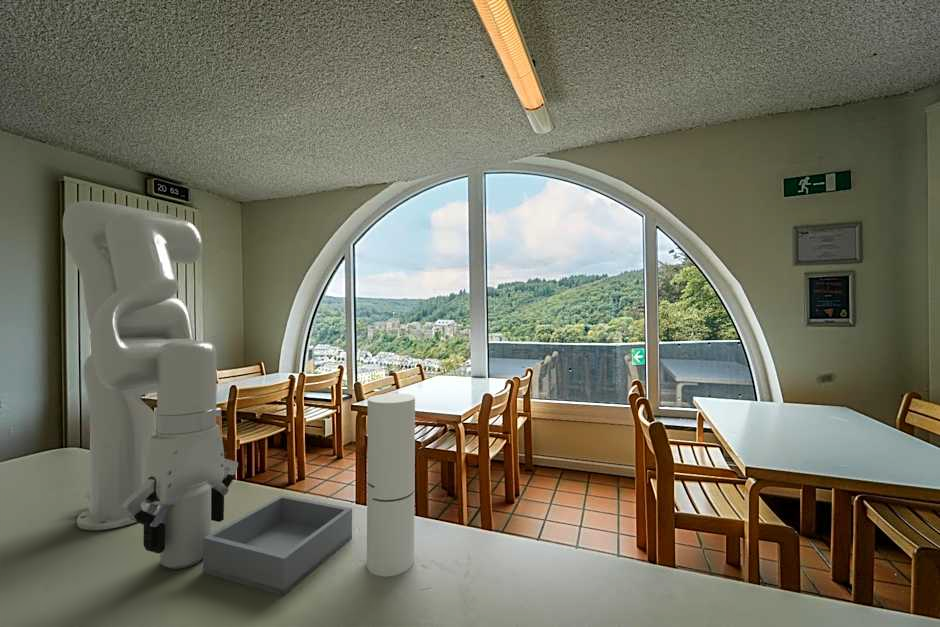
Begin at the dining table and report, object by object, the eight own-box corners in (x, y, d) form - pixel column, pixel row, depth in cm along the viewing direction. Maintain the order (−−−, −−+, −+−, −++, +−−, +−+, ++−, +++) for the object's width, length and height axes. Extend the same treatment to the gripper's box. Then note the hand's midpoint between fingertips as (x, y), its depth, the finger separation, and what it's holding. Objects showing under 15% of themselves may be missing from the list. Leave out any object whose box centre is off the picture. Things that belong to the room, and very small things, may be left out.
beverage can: (185, 574, 58) (186, 491, 58) (148, 568, 60) (149, 487, 60) (220, 549, 65) (221, 474, 65) (187, 545, 66) (187, 471, 66)
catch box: (202, 572, 59) (203, 537, 59) (281, 522, 73) (282, 495, 73) (284, 596, 54) (284, 558, 54) (351, 538, 68) (352, 508, 68)
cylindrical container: (396, 542, 67) (397, 391, 67) (423, 561, 62) (424, 398, 62) (357, 561, 62) (358, 397, 62) (383, 583, 57) (384, 405, 57)
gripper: (221, 408, 72) (220, 505, 71) (105, 435, 55) (104, 561, 55) (253, 411, 69) (252, 512, 69) (142, 440, 53) (141, 573, 53)
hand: (186, 534), depth 62 cm, fingers open, 8 cm apart
